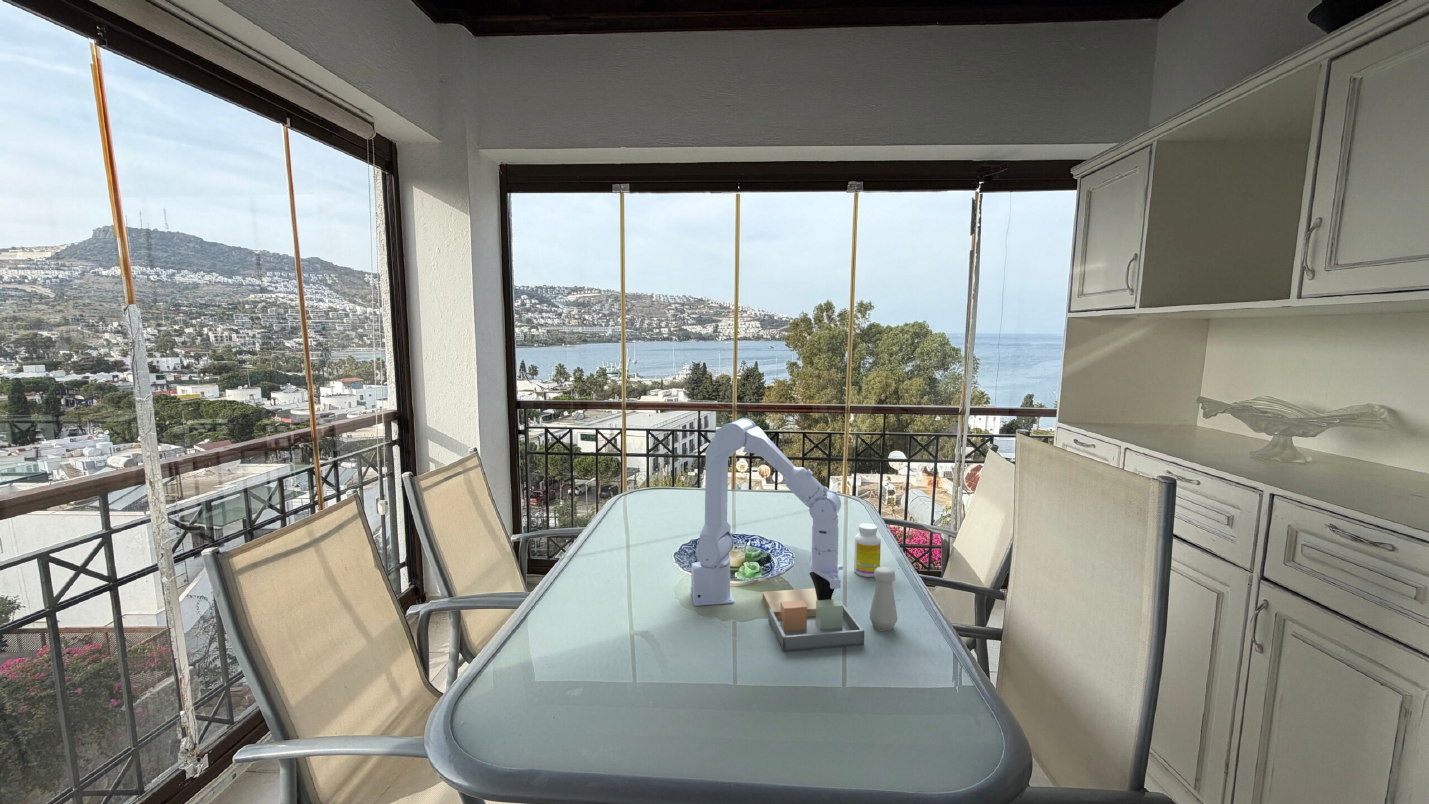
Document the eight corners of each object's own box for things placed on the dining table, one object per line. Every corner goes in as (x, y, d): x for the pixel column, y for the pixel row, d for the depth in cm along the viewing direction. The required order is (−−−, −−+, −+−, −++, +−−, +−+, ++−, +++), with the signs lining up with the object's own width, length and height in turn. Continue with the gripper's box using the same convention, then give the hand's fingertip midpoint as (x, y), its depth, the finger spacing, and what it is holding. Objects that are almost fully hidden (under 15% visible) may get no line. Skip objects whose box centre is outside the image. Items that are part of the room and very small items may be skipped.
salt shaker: (898, 634, 117) (900, 575, 116) (870, 632, 118) (871, 573, 117) (895, 621, 123) (897, 564, 121) (868, 618, 124) (869, 562, 122)
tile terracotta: (780, 623, 121) (784, 630, 118) (780, 601, 120) (784, 608, 117) (802, 621, 122) (806, 629, 119) (802, 600, 121) (807, 606, 118)
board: (772, 620, 123) (772, 612, 123) (762, 599, 133) (762, 591, 133) (837, 615, 125) (837, 607, 125) (822, 595, 135) (822, 587, 135)
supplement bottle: (882, 578, 145) (884, 530, 143) (857, 578, 145) (858, 530, 143) (875, 567, 151) (877, 522, 150) (851, 567, 152) (852, 521, 150)
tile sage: (815, 622, 121) (820, 629, 118) (816, 600, 121) (820, 607, 118) (837, 620, 122) (842, 627, 119) (838, 599, 121) (843, 605, 119)
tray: (783, 651, 111) (783, 637, 111) (768, 621, 123) (768, 608, 122) (864, 644, 113) (864, 630, 113) (842, 616, 125) (842, 603, 125)
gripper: (855, 558, 116) (853, 620, 117) (830, 534, 130) (829, 589, 132) (822, 560, 115) (821, 622, 116) (801, 536, 129) (800, 591, 131)
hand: (823, 605), depth 124 cm, fingers closed
